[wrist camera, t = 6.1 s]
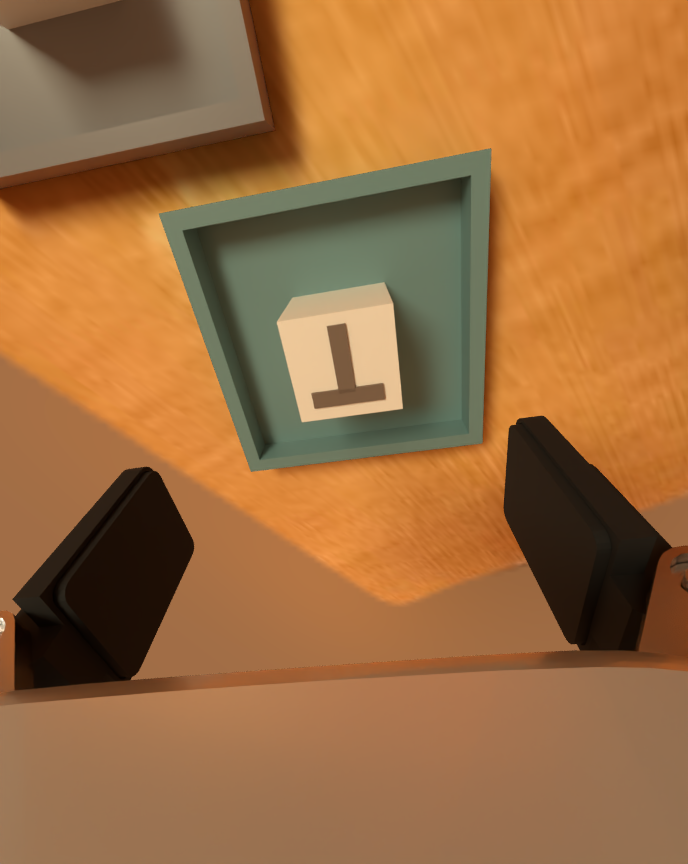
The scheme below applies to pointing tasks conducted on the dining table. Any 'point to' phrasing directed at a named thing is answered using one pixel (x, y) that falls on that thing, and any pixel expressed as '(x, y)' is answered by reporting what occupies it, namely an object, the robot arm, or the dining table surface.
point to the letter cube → (342, 352)
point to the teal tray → (340, 269)
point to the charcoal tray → (127, 85)
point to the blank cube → (41, 10)
